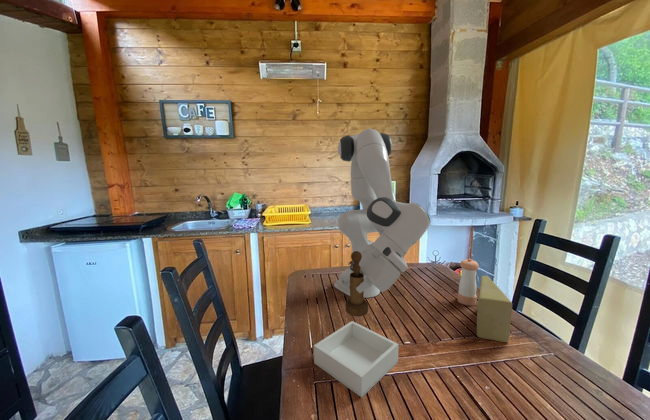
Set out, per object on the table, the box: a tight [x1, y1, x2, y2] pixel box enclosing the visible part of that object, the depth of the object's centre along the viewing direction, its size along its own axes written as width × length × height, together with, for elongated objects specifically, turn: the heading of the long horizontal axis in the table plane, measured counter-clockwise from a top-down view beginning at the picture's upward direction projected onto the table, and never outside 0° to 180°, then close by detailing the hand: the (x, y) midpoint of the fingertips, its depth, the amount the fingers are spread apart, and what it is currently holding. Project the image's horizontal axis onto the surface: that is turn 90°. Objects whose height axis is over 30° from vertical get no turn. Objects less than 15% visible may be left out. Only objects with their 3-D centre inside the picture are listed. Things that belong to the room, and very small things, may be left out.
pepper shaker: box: [456, 258, 480, 307], centre depth 118 cm, size 7×7×19 cm
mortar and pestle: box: [345, 251, 369, 317], centre depth 80 cm, size 7×6×18 cm
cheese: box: [476, 275, 513, 343], centre depth 103 cm, size 22×10×15 cm, turn 159°
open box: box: [313, 320, 400, 398], centre depth 84 cm, size 18×18×6 cm
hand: (354, 286), depth 80 cm, fingers closed on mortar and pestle, 4 cm apart
